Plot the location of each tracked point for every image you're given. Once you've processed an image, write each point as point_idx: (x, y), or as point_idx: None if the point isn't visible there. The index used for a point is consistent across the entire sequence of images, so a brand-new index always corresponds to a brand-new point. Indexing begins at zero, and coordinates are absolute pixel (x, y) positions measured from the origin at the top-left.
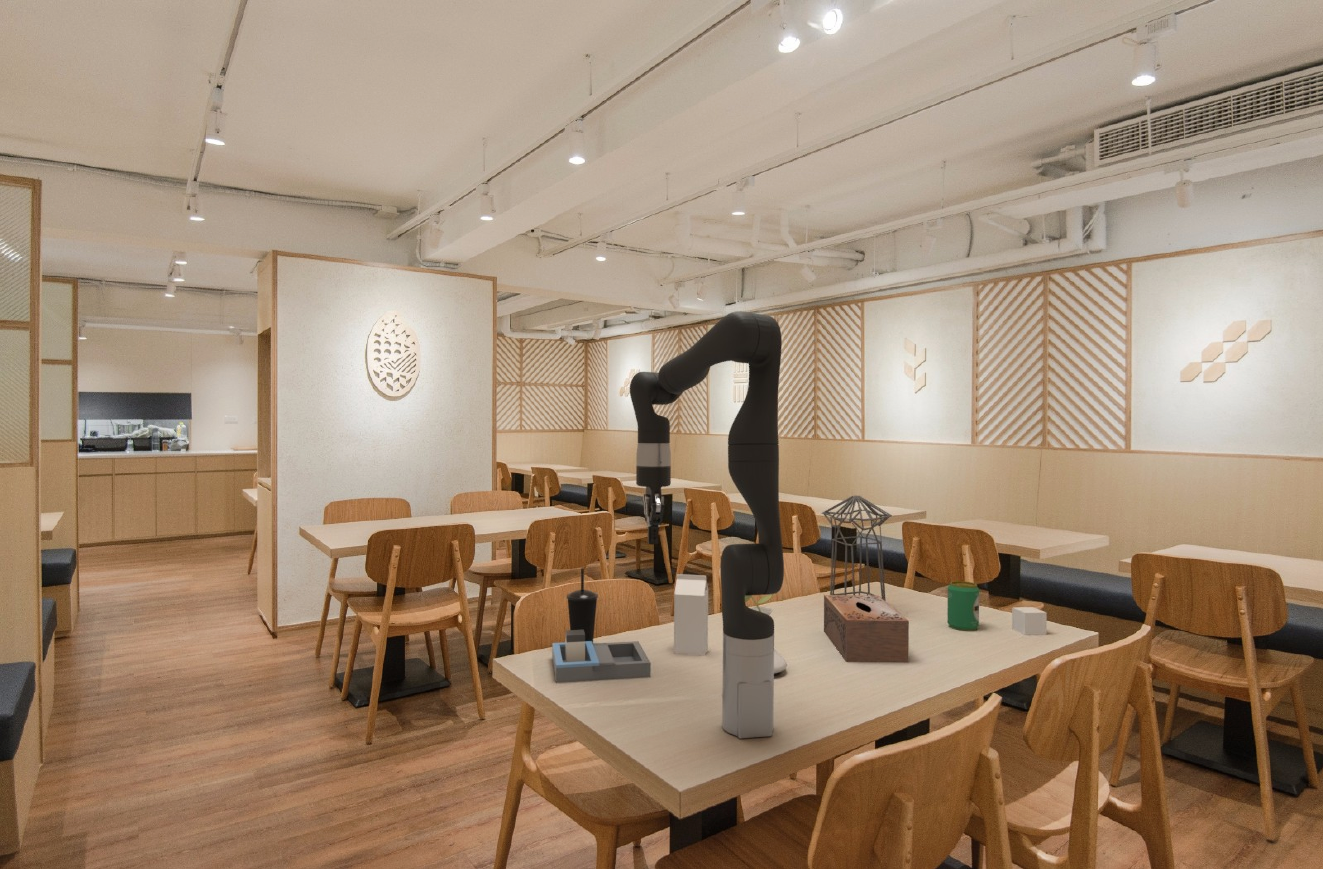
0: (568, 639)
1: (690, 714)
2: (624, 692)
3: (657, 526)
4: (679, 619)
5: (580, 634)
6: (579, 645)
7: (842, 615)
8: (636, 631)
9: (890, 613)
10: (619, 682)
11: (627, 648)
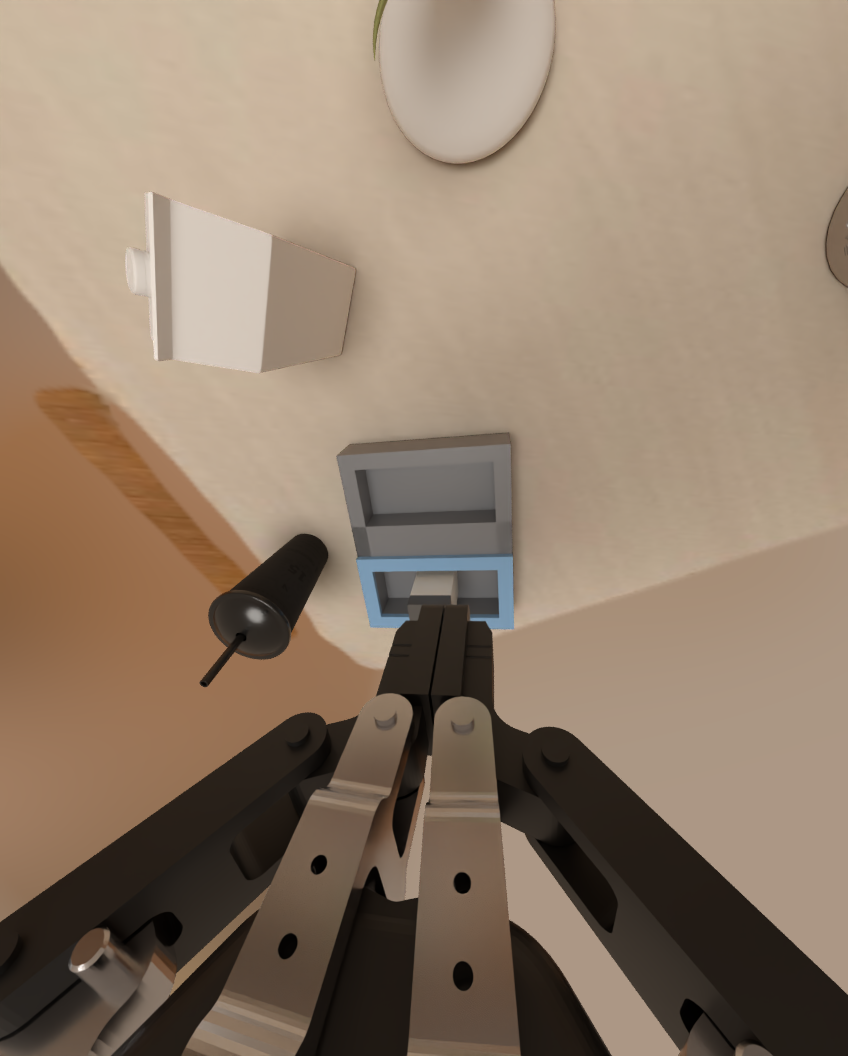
0: None
1: (744, 363)
2: (565, 492)
3: (501, 722)
4: (304, 345)
5: None
6: (452, 600)
7: None
8: (148, 429)
9: None
10: None
11: (360, 479)
